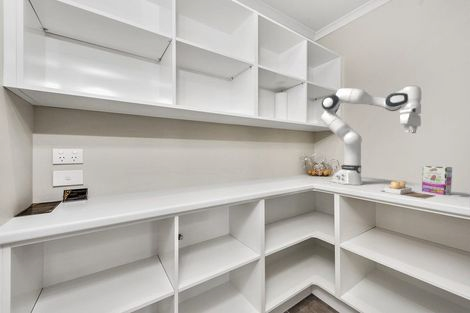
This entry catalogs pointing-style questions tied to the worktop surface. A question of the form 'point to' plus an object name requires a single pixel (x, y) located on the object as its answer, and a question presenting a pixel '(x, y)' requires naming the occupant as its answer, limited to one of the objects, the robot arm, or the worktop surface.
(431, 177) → the candy bar box
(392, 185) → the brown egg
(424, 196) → the assembly board
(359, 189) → the worktop surface
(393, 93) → the robot arm
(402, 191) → the housing
